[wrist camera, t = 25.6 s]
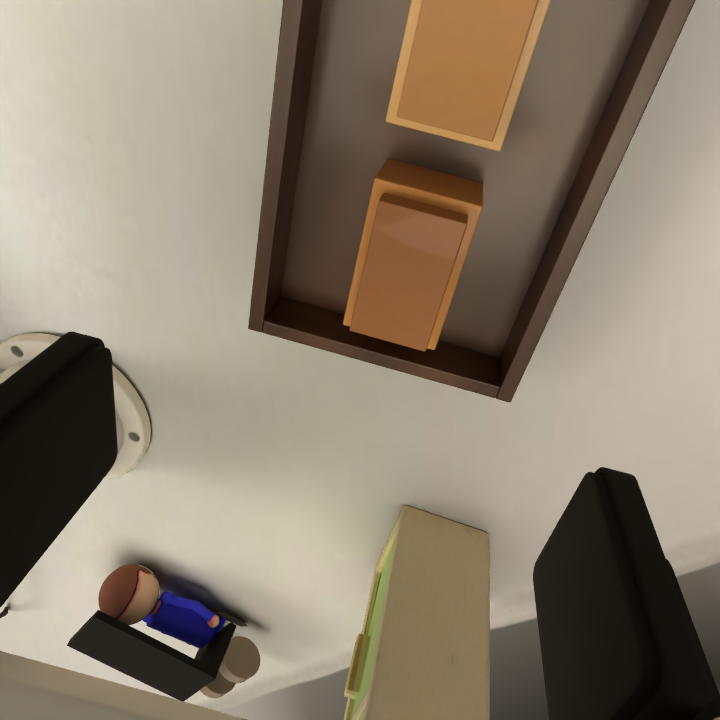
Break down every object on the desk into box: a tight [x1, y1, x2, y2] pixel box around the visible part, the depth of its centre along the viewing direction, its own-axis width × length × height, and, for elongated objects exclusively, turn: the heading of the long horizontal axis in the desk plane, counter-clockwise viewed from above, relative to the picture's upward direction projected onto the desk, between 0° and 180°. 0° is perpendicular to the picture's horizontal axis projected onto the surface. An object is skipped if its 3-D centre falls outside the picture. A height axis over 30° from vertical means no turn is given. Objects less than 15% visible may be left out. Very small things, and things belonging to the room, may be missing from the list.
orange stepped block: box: [343, 159, 483, 351], centre depth 27 cm, size 5×8×5 cm, turn 168°
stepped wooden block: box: [386, 0, 551, 151], centre depth 21 cm, size 5×8×5 cm, turn 168°
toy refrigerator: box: [344, 506, 490, 720], centre depth 33 cm, size 8×7×21 cm
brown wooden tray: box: [248, 0, 695, 402], centre depth 25 cm, size 15×22×4 cm
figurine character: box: [67, 564, 260, 701], centre depth 49 cm, size 7×8×15 cm
